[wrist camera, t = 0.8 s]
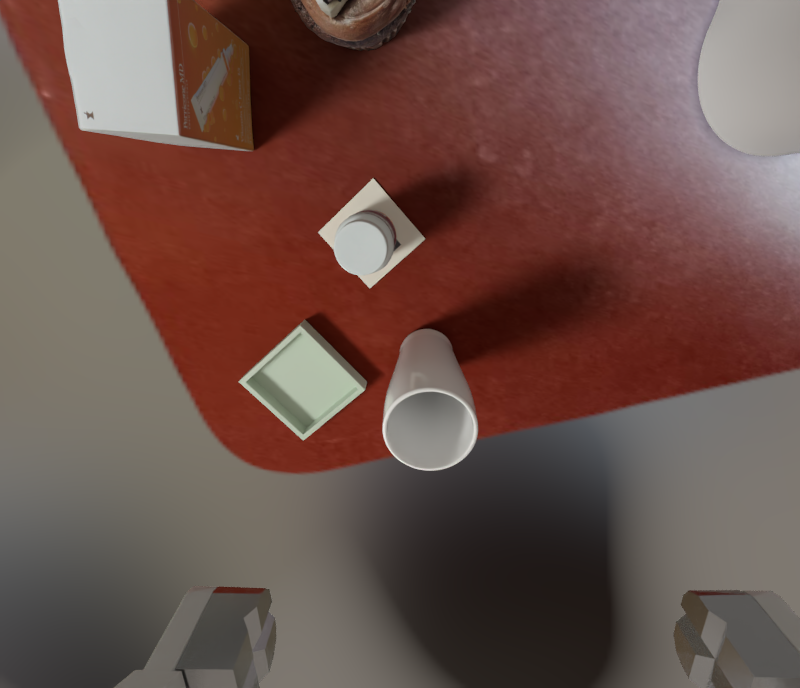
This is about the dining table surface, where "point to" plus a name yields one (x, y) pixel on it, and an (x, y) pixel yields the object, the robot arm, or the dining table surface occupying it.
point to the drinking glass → (429, 405)
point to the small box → (158, 72)
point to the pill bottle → (365, 242)
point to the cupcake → (354, 20)
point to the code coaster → (379, 200)
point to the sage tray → (304, 381)
